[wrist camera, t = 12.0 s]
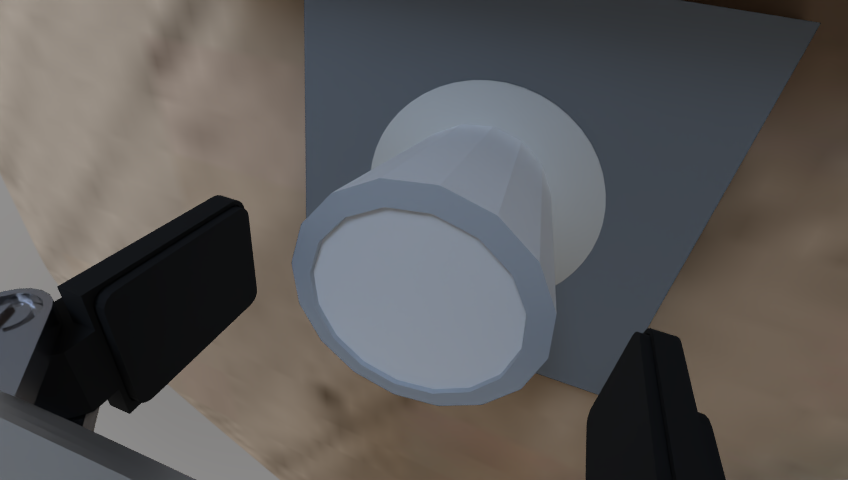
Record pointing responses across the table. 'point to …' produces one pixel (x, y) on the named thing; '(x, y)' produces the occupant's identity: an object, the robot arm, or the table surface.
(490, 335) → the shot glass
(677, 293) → the table surface
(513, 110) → the mat
